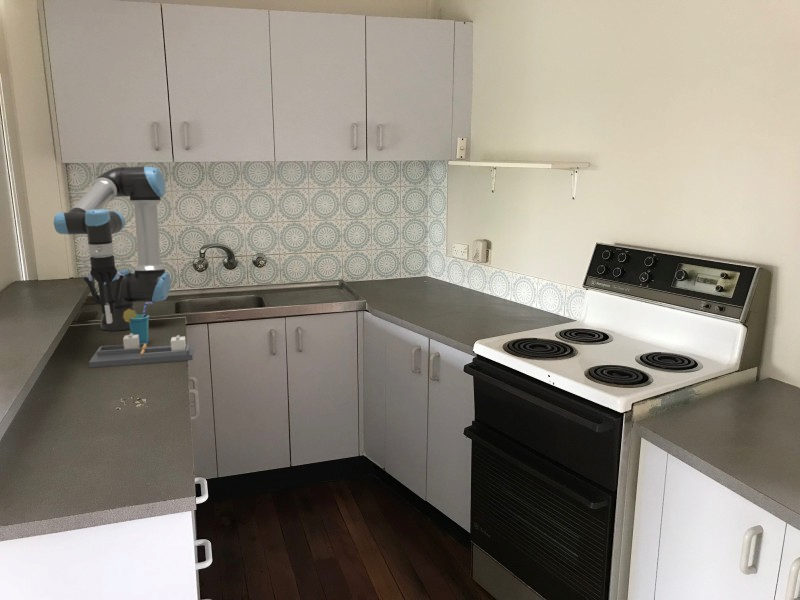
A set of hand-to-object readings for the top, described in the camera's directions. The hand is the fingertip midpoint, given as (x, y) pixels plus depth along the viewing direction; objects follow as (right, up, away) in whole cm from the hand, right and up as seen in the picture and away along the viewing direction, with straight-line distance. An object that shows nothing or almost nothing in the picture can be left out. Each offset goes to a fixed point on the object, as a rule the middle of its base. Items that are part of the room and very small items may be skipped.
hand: (109, 322), depth 233 cm
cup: (+4, -9, +20) cm, 22 cm away
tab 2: (+24, -10, 0) cm, 26 cm away
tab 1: (+7, -10, +3) cm, 12 cm away
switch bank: (+12, -12, +1) cm, 17 cm away
